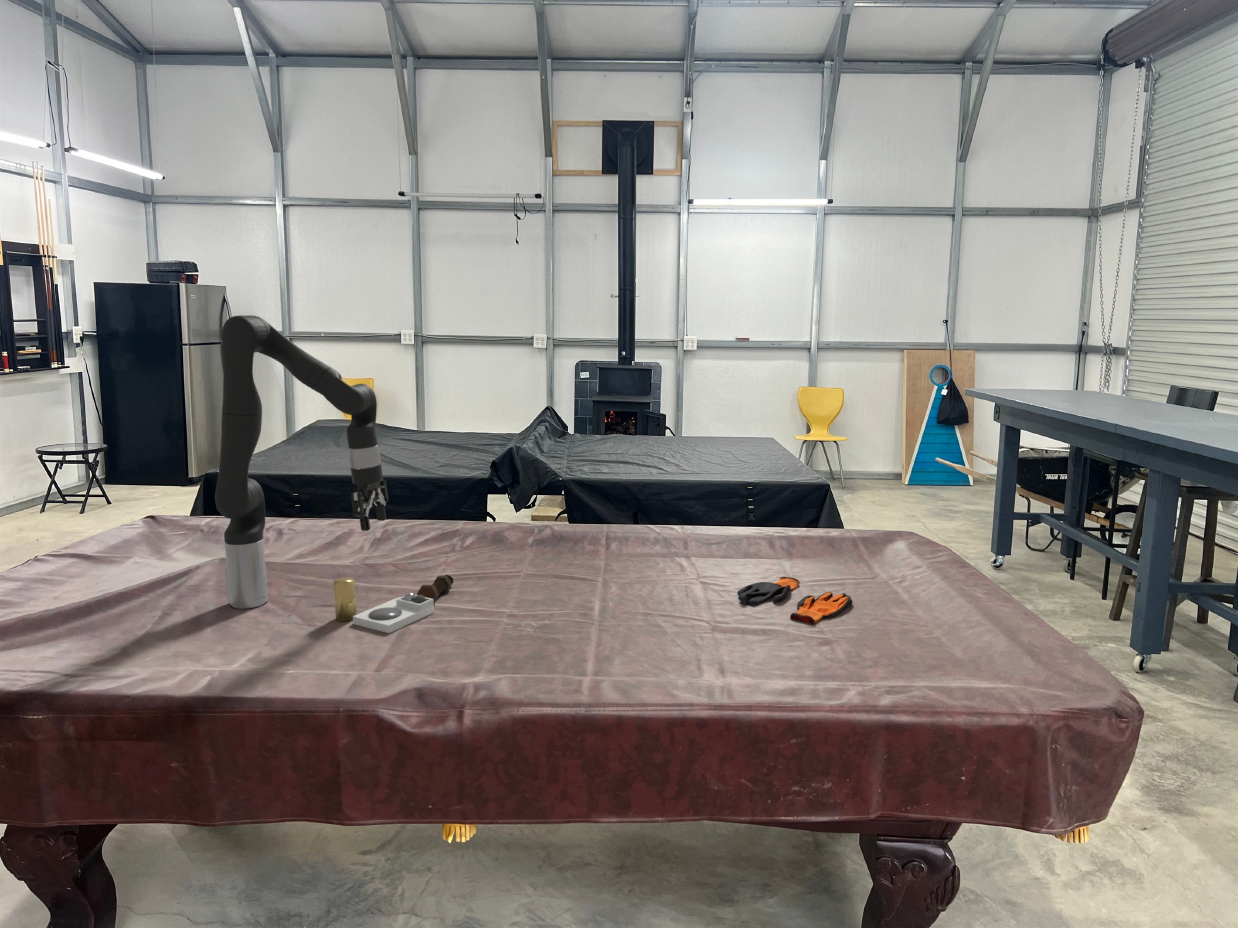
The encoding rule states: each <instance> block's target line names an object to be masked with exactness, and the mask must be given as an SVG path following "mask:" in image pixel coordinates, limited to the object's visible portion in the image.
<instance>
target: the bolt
mask: <svg viewBox="0 0 1238 928" xmlns="http://www.w3.org/2000/svg"><path fill="white" fill-rule="evenodd" d="M453 584H454V577H452V576H451V575H449V574H445V575H437V577H436V578H435V580H434V582H433V583H432V584H424V583H423V584H422V585H421V586H420V587H419V589H418V591H417V594H416V595H423V596H424V597H427V598H431V599H433V601H434V604H435V603H436V601H437V600H438V598H439V596H440V594H441V593H447V592H448V591H449V590H450V588H451V586H452V585H453Z"/></svg>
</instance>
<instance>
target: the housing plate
mask: <svg viewBox="0 0 1238 928" xmlns="http://www.w3.org/2000/svg"><path fill="white" fill-rule="evenodd" d="M414 595H415V596H417V594H414ZM404 596H405V595H404ZM404 596H401V597H400V596H399V597H396V598H393V599H391V600H388V601H387V602H384V603H382V604H379V605H376V606H375V607H371V608H369V609H366V610H365V611H362V612H360V613H357V615H355V616H353V620H352V624H353V625H355V626H359V627H363V628H368V629H371V630H375V631H379V632H383V633H386V634H392V633H393V632H395V631H397V630H399V629H401V628H404V627H406V626H408V625H410V624H412V623H415V622H417V621H419V620H421V619H423V618H425V617H428V616H430V615H432V614H434V613H435V605H434V604H435V603H434V601H433V599H431V598H427V597H425V598H426V601H425V602H423V603H420V604H418V603H414V602H410V601H405V600H404Z"/></svg>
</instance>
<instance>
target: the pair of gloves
mask: <svg viewBox="0 0 1238 928" xmlns="http://www.w3.org/2000/svg"><path fill="white" fill-rule="evenodd" d="M800 584H801V583H800V581H799V580H798V578H796V577H790V576H789V577H788V576H787V577H786V576H781V577H780V578H779V580H778V581H775V582H770V581H760V582H755V583H751V584H748V585H746V586H745V587H743V588H739V590H738V591H737V595H738V600H739V601H740V603H742V604H744V605H751V606H756V605H758V604H761V603H762V602H764V601H767V600H768V599H769V598H771V597H772V595H774V594H776V593H778V594H777V595H774V598H773V599H772V602H773V603H778V602H779V601H781V600H783V599H785V598H787V597H788V596H789V593H790V591H792V590H795V589H796V588H798V587H799V586H800ZM852 604H853V599H852V598H851V596H850V595H848V594H846V593H845V592H841V593H839V594H837V595H836V594H835V595H834V594H833V592H831V591H826V592H824V593H823V594H821V595H820V596H818V597H817V598H816V596H815V595H810V594H808V595H806V596H803V597H802V598H801V599H800V600H799V601H797V605H796V610H797V611H796V612H792V613H791V614H790V616H789V619H790V620H792V621H801V622H802V623H804V624H810V625H815V623H817V622H819V621H820V620H821V619H829V618H833V617H835V616H837V615H838V614H839V613H841V612H842V611H843V610H845V608H849V607H850V606H851V605H852ZM810 622H811V623H810Z"/></svg>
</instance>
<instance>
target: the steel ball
mask: <svg viewBox="0 0 1238 928" xmlns="http://www.w3.org/2000/svg"><path fill="white" fill-rule="evenodd" d="M415 595H416V594H414V592H406V594H405V595H404V600H405V601H410V602H414V598H415V597H416V596H415Z"/></svg>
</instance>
